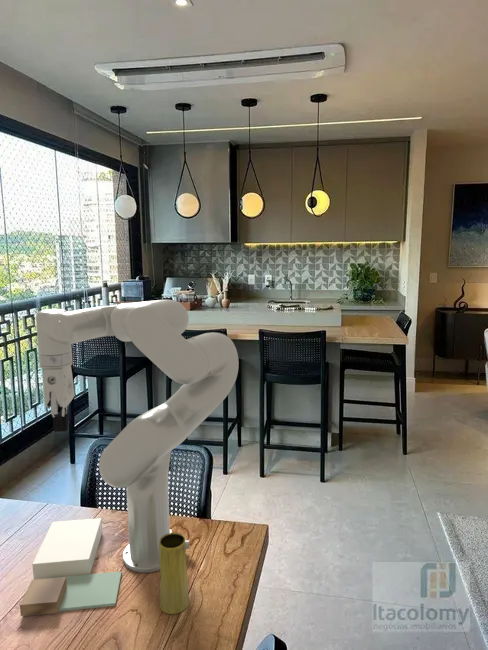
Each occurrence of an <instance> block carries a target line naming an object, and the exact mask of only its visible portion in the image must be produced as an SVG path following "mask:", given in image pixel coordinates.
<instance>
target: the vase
mask: <svg viewBox="0 0 488 650" xmlns="http://www.w3.org/2000/svg"><path fill="white" fill-rule="evenodd" d="M183 535H184V534H182V533H178V532H172V533H169V534H166V535H164V536H163V537H161V539H160V541H159V555H160V570H159V573H160V584H159V585H160V586H159V603H158V604H159V608H160V610H161V611H162V612H163V613H166V614H168V615H177V614H180V613H182V612H184V611H185V610H186V609H187V608H188V607H189V604H190V597H189V584H188V583H189V581H188V567H187V550H186V542H185V540H186V537H185V535H184V536H183Z"/></svg>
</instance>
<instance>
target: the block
mask: <svg viewBox="0 0 488 650" xmlns="http://www.w3.org/2000/svg"><path fill="white" fill-rule="evenodd" d="M66 589H67V582H66V577H62V578H50V579H37V580H34V579H31V581H30V583H29V585H28V587H27V589H26V591H25V593H24V595H23V598H22V599H21V601H20V604H19V613H20V617H26V616H27V617H28V616H36V615H37V616H38V615H50V614H58V613H59V611H58V610H59V608H60V605H61V602H62V600H63V597H64V594H65V591H66Z"/></svg>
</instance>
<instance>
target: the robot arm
mask: <svg viewBox="0 0 488 650" xmlns="http://www.w3.org/2000/svg"><path fill="white" fill-rule="evenodd" d="M35 323H36V336H37V349H38V359H39V368H41V369H43V396H44V405H45V407H46V408H47V409H50V415H52V426H53V432H55V433H56V432H58V433H59V432H67V431H68V429H69V415H68V407H69V405H70V404H71V402H72V400H73V399H74V397H75V388H74V387H75V386H74V378H73V371H72V365H73V352H72V349H73V348H72V345H74V344H78V343H80V342H81V343H82V342H84V341H89V340H93V339H97V338H103V337H114V336H115V338H116V339H118V340H119V341H121V342H124V343H125V342H132V343H133V345H134V346H135V347H136V348H137V349H138V350H139V351H140V352H141V353H142V354H143V355H144V356H145V357H146V358H148V359H149V360H150V361H151V362H152V364H154V365H156V366H157V368H158V369H160V371H161V372H163V373H164V374H165V375H166V376H168V378H169V379H171V380H172V381H174V382H175V383H178V384H181V386H180V387H179V388H178V390H176V392H175V393H174V394H172V395H171V396H170V397H169V398H168V399H167V400H166V401H165V402H163V403H162V404H159V405H158V406H155V407H153V408H151V409H149V410H148V411H145V412H144V413H141V414H139V416H136V418H134V419H133V420H131V421H130V422H129V423H128V424H127V425H126V426H125V427H124V428H123V429H122V430H121V431H120V432H119V433H118V435H116V436H115V437H114V439H112V441H111V442H110V443H109V444H108V445H107V446H106V447H105V448H104V450H103V451H102V453H101V454H100V457H99V464H98V469H99V470H98V471H99V474H100V476H101V478H102V480H103V481H104V482H105V483H106V484H107V485H109V486H111V487H113V488H115V489H124V488H126V507H127V511H126V512H127V525H128V526H127V527H128V545H127V546H126V547H125V548H124V551H123V553H122V561H123V563H124V565H125V567H126V568H127V569H129V570H131V571H132V572H136V573H143V574H144V573H147V574H149V573H153V572H156V571H160V555H159V541H160V539H161V537H163V536H164V535H166V534H169V533H173V531H172V529H170V524H171V523H170V503H169V501H170V500H169V499H170V498H169V469H170V463H171V456H172V455H171V454H172V450H174V449H176V448H177V447H178V446H180V445H181V444H182V443H183V442H184V441H185V440H186V439H187V438H188V437H189V436H190V434H192V433H193V432H194V431H195V430H196V429H197V428H198V427H199V426H200V425H201V424H202V423H203V422H204V421H205V420H206V419H207V418H208V417H209V416H210V415H211V414H212V413H213V412H214V411H215V410H216V408H218V406H220V404H222V403H223V401H224V400H225V399H226V398H227V397H228V395H229V393H230V392H231V391H232V389H233V387H234V385H235V383H236V381H237V377H238V373H239V363H240V362H239V356H238V354H239V353H238V351H237V348H236V346H235V344H234V342H233V340H232V339H231V338H230V337H229V336H227V335H226V334H224V333H221V332H205V333H202V334H199V335H196V336H192V337H190V338H187V339H186V338H185V337H184V336H183V335H182V334H183V333H184V332H185V331H186V329H187V327H188V324H189V313H188V311H187V308H186V307H185V306H184V305H183V304H182V303H181V302H179V301H176V300H173V299H157V300H148V301H147V300H146V301H137V302H127V303H119V304H117V305H116V304H115V305H104V306H95V307H89V308H87V307H86V308H82V309H75V310H69V311H67V310H66V309H63V308H47V309H41V310H40V311H38V312H36V315H35ZM182 535H183V536H184V537H185V535H184V534H182ZM185 542H186V549H190V539H185Z"/></svg>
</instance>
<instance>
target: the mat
mask: <svg viewBox="0 0 488 650" xmlns="http://www.w3.org/2000/svg"><path fill="white" fill-rule="evenodd" d="M55 578H62V577H55ZM47 579H50V578H47ZM121 579H122V571H121V570H120V571H111V572H100V573H90V574H87V575H76V576H66V582H67V589H66V591H65V594H64V597H63V600H62V602H61V605H60V608H59V610H58V612H65V611H67V612H68V611H76V610H85V609H96V608H105V607H106V608H107V607H115V606H116V605H117V601H118V600H117V599H118V596H119V589H120V583H121Z"/></svg>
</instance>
